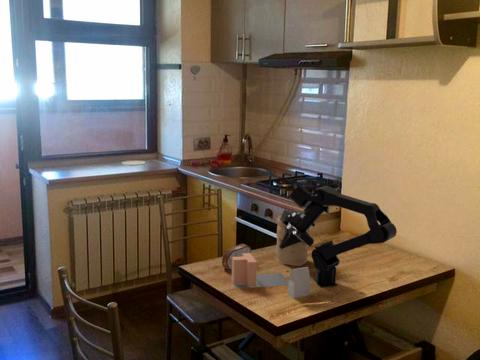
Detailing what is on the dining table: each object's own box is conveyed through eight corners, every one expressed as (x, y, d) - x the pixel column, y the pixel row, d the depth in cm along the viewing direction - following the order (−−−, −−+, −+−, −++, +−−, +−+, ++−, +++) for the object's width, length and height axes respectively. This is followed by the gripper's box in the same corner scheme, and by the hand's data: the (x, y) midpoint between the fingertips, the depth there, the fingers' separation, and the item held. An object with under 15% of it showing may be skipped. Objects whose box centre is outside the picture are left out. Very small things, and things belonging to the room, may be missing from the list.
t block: (249, 276, 189) (250, 253, 187) (256, 286, 181) (257, 261, 179) (229, 277, 187) (230, 254, 186) (235, 287, 179) (236, 263, 177)
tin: (245, 261, 206) (246, 241, 205) (252, 263, 204) (252, 242, 203) (221, 271, 195) (221, 250, 193) (227, 273, 193) (227, 252, 191)
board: (280, 274, 193) (281, 273, 193) (290, 286, 183) (290, 284, 183) (229, 278, 188) (229, 276, 188) (236, 290, 178) (236, 288, 178)
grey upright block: (309, 296, 175) (311, 268, 173) (293, 300, 172) (294, 271, 170) (303, 292, 178) (305, 265, 176) (287, 295, 175) (288, 268, 173)
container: (308, 267, 201) (310, 223, 197) (276, 266, 201) (278, 222, 197) (305, 256, 213) (307, 214, 209) (275, 255, 213) (277, 213, 210)
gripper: (285, 194, 190) (256, 225, 190) (307, 210, 173) (275, 245, 173) (303, 212, 195) (276, 243, 195) (326, 230, 178) (296, 263, 178)
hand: (280, 247), depth 185 cm, fingers closed
